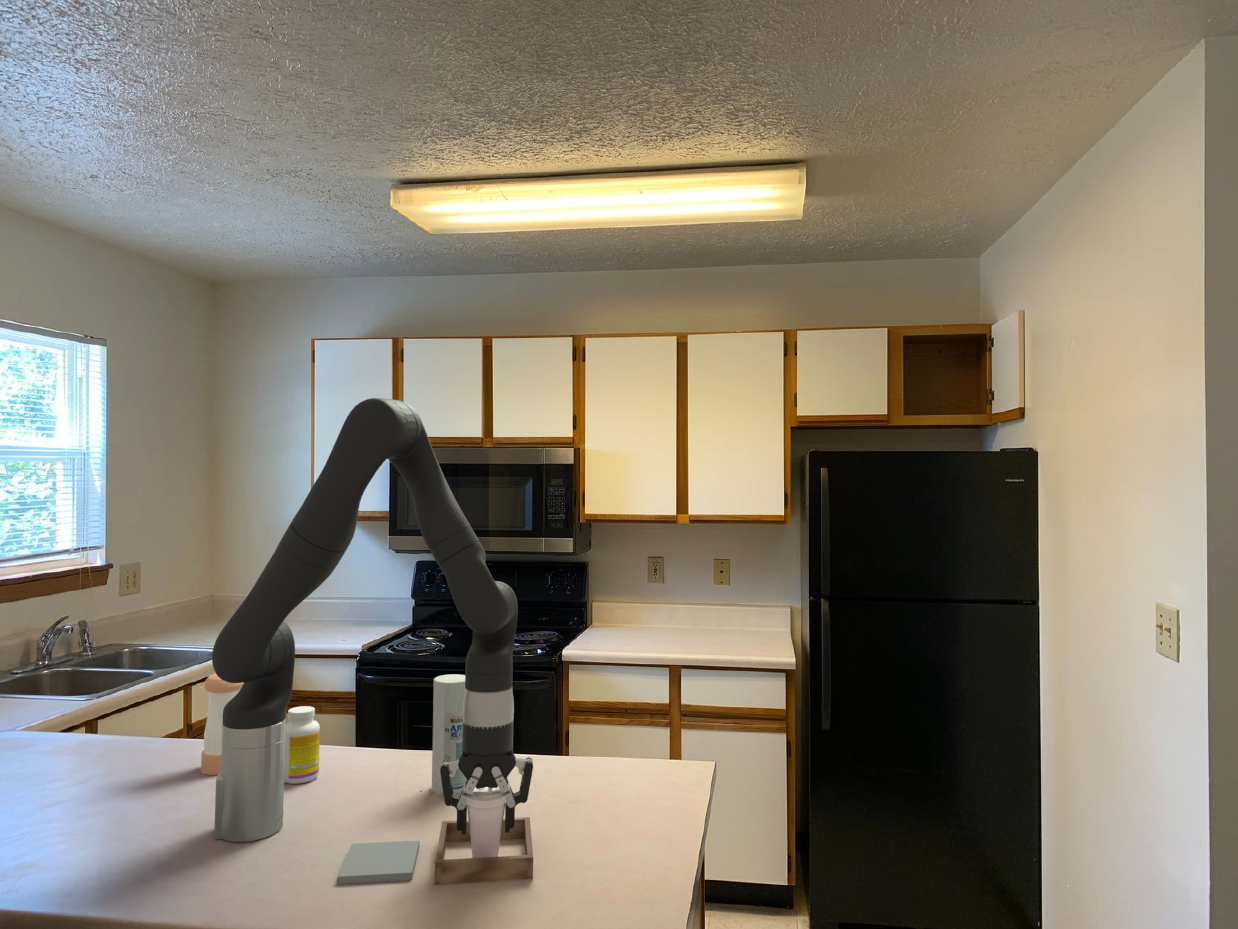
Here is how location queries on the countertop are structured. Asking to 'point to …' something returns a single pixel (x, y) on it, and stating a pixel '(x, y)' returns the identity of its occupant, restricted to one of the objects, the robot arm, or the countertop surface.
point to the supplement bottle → (301, 746)
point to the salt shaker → (215, 722)
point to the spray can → (447, 728)
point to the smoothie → (485, 821)
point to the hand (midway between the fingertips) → (485, 831)
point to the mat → (379, 862)
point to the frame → (486, 866)
